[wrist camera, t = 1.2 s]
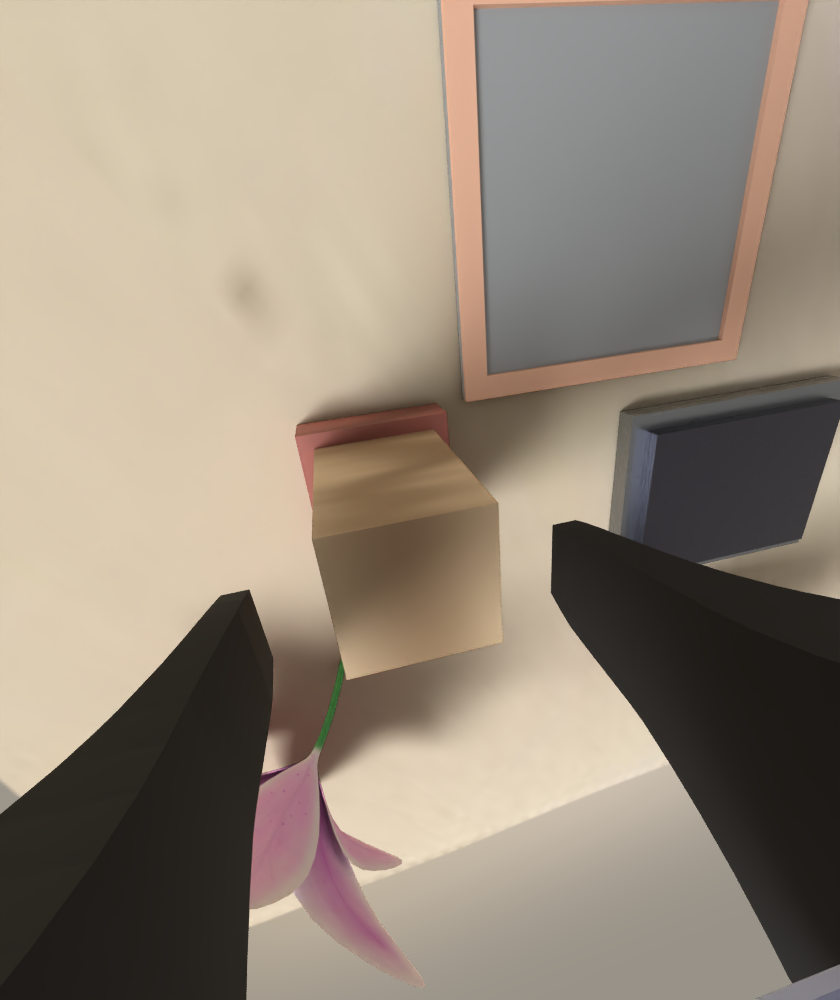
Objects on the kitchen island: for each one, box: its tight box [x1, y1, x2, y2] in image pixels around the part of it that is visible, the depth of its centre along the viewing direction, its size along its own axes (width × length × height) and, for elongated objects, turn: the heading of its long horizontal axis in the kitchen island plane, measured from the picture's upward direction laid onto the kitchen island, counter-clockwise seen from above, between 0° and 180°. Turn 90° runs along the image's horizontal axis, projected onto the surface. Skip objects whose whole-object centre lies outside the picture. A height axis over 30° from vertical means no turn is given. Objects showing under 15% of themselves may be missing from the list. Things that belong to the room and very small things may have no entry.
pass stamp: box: [295, 403, 503, 680], centre depth 13 cm, size 5×5×8 cm
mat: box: [437, 0, 809, 402], centre depth 14 cm, size 11×11×1 cm
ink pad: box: [609, 376, 840, 564], centre depth 20 cm, size 10×8×1 cm
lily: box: [249, 659, 425, 987], centre depth 18 cm, size 12×12×10 cm
